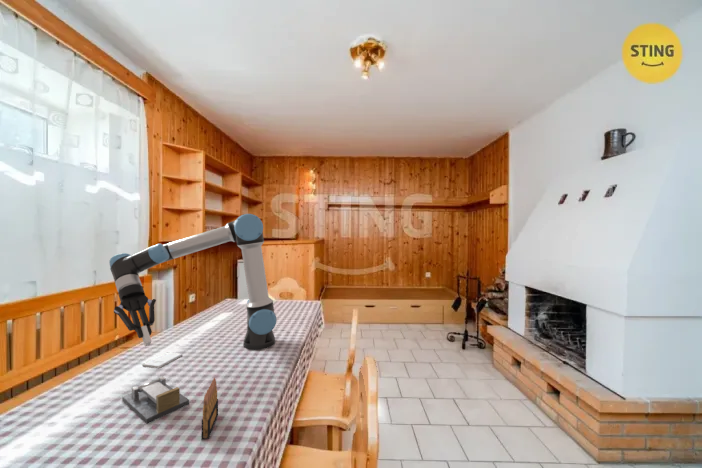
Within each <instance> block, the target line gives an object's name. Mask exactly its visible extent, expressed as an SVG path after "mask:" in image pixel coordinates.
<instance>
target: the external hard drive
mask: <svg viewBox="0 0 702 468" xmlns="http://www.w3.org/2000/svg"><path fill="white" fill-rule="evenodd" d="M181 357H183V354H182V353H177V352H166V353H163V354H161V355H159V356H157V357H155V358H153V359H150V360H149V361H147V362H145V363H143V364H141V365H142V367H144V368H152V369H153V368H154V369H160V368H162V367H164V366H166V365H168V364H169V363H172V362H173V361H175V360H177V359H179V358H181Z"/></svg>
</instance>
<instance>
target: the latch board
mask: <svg viewBox="0 0 702 468" xmlns="http://www.w3.org/2000/svg"><path fill="white" fill-rule="evenodd" d="M158 379H159V380H160V383H161V384H162V385H164V386H165V387H167V388H168V389H169V391H166V392H164V393H161V394H159V395H157V396H156V403H155V402H153V401H152V400H151V399H150V398H149V397H147V396H146V395H145V394H144V393H143V392H140V393H139V388H138V387H139V386H137V385H135V386H133V387H131V393H128V394H126V395H122V397H121V398H122V403H124V404H125V406H127V407H128V409H131V411H133V413H135V414H136V416H138V417H139V418H140V419H141V420H142V421H143V422H144V423H145V424H146V425H148V424H149V423H152V422H154V421H157V420H159V419H160V418H163V417H165V416H168V415H170V414H171V413H174V412H176V411H179V410H180V409H182V408H184V407H187V406H188V405H190V399H189V398H188V397H186V396H184V395H183V394H181V393H180V387H178V386H176V387H174V388H173V387H171V386H170V385H168V384H167V380H166V379H167V378H165V377H164V376H160V377H158Z"/></svg>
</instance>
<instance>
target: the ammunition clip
mask: <svg viewBox="0 0 702 468" xmlns="http://www.w3.org/2000/svg"><path fill="white" fill-rule="evenodd" d="M217 388H218V387H217V379H216V378H215V377H213V379H212V380H211V383H210V384H209V387H208V389H206V392H205V394H204V398H203V408H202V419H201V440H209V439H210V437H211V435H212V432H213V429H214V427H215V424H216V421H217V419H218V417H219V398H218V389H217Z"/></svg>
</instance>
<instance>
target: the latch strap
mask: <svg viewBox="0 0 702 468" xmlns="http://www.w3.org/2000/svg"><path fill="white" fill-rule="evenodd" d="M137 387H138V388H139V393H140V392H143V393H144V394H145V395H146V396H147V397H149V398H150V399H151V400H152V401H153V402H155V403H156V396H157V395H159V394H161V393H164V392H166V391H169V389H168V388H167V387H165V386H164V385H162V384H161V383H160V380H159V378H158V379H156V380H153V381H151V382H150V381H149V382H147V383H144V384H142V385H139V386H137Z"/></svg>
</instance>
